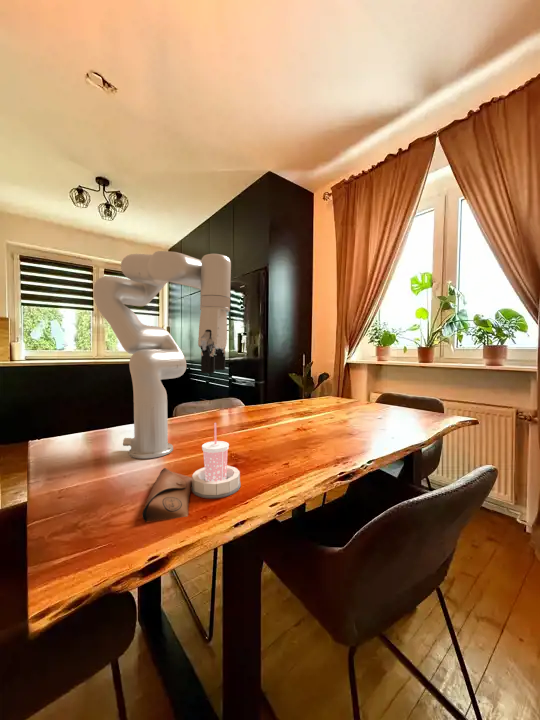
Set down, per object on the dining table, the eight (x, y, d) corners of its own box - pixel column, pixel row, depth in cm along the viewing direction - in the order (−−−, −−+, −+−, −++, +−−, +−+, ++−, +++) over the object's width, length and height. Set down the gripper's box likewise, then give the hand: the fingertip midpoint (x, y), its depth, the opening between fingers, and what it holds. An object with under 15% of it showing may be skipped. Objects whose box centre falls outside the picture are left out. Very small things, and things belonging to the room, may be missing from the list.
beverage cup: (219, 476, 73) (219, 418, 73) (234, 483, 68) (234, 422, 68) (197, 483, 69) (196, 422, 68) (211, 492, 64) (210, 427, 64)
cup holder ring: (184, 497, 63) (184, 483, 63) (200, 476, 74) (200, 464, 74) (235, 499, 63) (235, 485, 63) (244, 477, 74) (244, 465, 73)
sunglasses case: (190, 517, 56) (171, 488, 55) (156, 540, 55) (136, 511, 54) (195, 477, 74) (180, 455, 73) (169, 494, 72) (154, 471, 72)
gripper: (211, 308, 86) (210, 368, 87) (188, 299, 69) (186, 373, 70) (237, 309, 85) (235, 369, 86) (219, 300, 68) (218, 375, 69)
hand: (213, 371), depth 78 cm, fingers open, 9 cm apart
